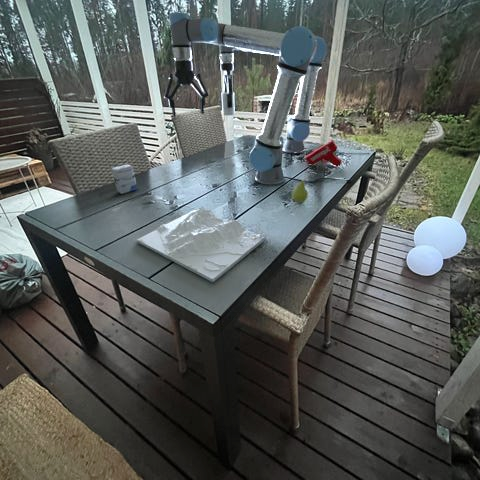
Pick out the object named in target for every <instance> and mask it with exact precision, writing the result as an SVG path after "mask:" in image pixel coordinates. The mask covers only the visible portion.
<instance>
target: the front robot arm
mask: <svg viewBox="0 0 480 480" xmlns="http://www.w3.org/2000/svg"><path fill="white" fill-rule="evenodd" d="M169 29H170V36H171V43H172V53H173V59H174V62H173V64H174V70H175V71H174V72H175V73H168V75H167V77H168V80H167V84H166V87H165V90H164V93H163V98H164V99H167V100H168V105H169V108H170V109H171V112H172V113H171V115H172V116H173V117H176V116H177V114H176V106H175V99H173V98H174V97H175V95H176V93H177V92H178V90H179V88H180V87H181V86H191V87H192V88H193V89H194V91H196V93H197V94H198V95H199V110H200V114H201V115H205V108H204V107H205V106H206V98H207V97H209V92H208V91H207V88H206V86H205V84H204V82H203V80H202V76H201V73H200V72H196V73H194V69H193V68H194V66H193V61H192V59H193V55H192V44H193V43H205V44H212V45H216V46H220V45H222V46H229V47H234V48H239V49H245V50H250V51H256V52H255V53H258V52H261V53H260V54H266V53H267V54H266V55H274V56H279V58H278V61H277V65H276V67H277V69H278V74H277V79H276V82H275V85H274V89H273V93H272V95H271V99H270V103H269V105H268V109H267V113H266V117H265V120H264V123H263V127H262V129H261V133H259V134H258V135H256V137H255V141H254V145H253V147H252V149H250V152H249V156H248V161H249V163H250V165H251V167H252V168H253V169H254V170H256V174H255V178H254V181H255V183H258V184H259V185H262V186H263V185H264V186H279V185H281V184H283V183H284V181H285V179H287V180H292V181H297V182H301V181H302V180H303V179H299V178H294V177H289V176H285V175H284V172H283V171H284V170H283V167H282V165H283V154H284V152H283V146H284V144H285V142H284V137H283V135H282V134H283V131H284V128H285V125H286V122H287V121H288V117H289V113H290V111H291V108H292V104H293V102H294V99H295V96H296V93H297V89H298V87H299V85H300V82H301V78H302V77H304V76H305V75H306V73H307V70H308V67H309V64H310V61H311V60H312V59H313V58H314V56H315V54H316V51H317V39H316V37H317V36H316V35H315V34H314V33H313V31H312V30H311V29H310V28H308V27H306V26H302V25H299V26H298V25H297V26H293V27H292V28H289V29H288V30H286V31H285V32H284V33H283V32H277V31H270V30H265V29H259V28H251V27H245V26H239V25H233V24H227V23H221V22H217V20H216V19H215V18H213V17H204V18H202V17H201V18H189V15H188V13H186V12H171V13H170V14H169ZM194 79H195V80H196V81H197V84H198V85H199V87H200V88H199V87H198V85H197V84H196V83H195V82H194ZM174 80H176V82H175V85H174V86H173V88H172V84H173V81H174ZM171 88H172V89H171ZM335 178H336V177H334V178H333V177H319V178H316V179H313V180H305V183H307V184H309V183H311V184H312V183H315V182H317V181H319V180H320V181H321V180H332V181H336V180H337V181H338V180H339V179H335ZM343 178H344V179H346V177H343ZM345 181H346V182H347V183H351V181H350V180H349V179H348V180H345Z"/></svg>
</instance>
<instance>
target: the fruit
mask: <svg viewBox="0 0 480 480" xmlns="http://www.w3.org/2000/svg"><path fill="white" fill-rule="evenodd" d="M310 177H311V175H310V174H309V175H308V176H307V177H305V179H301V180H302V181H299V182H298V184H297V185H296V186H295V187H294V188H293V190H292V191H291V198H292V200H293V201H294V202H295V203H297V204H301V203H304V202H305V201H306V200H307V198H308V196H309V195H308V190H307V189H306V184H305V183H306V182H305V181H307V180H308V179H309V178H310Z"/></svg>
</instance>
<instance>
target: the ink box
mask: <svg viewBox="0 0 480 480" xmlns="http://www.w3.org/2000/svg"><path fill="white" fill-rule="evenodd" d="M110 170H111V173H112V176H113V181H114V184H115V188H116V191H117V192H118V193H119V194H121V195H122V194H126V193H130V192H132V191H133V192H134V191H136V190H138V185H137V181H136V177H135V171H134V167H133V165H130V164H124V165H120V166H119V165H118V166H115V167H111V168H110Z"/></svg>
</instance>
